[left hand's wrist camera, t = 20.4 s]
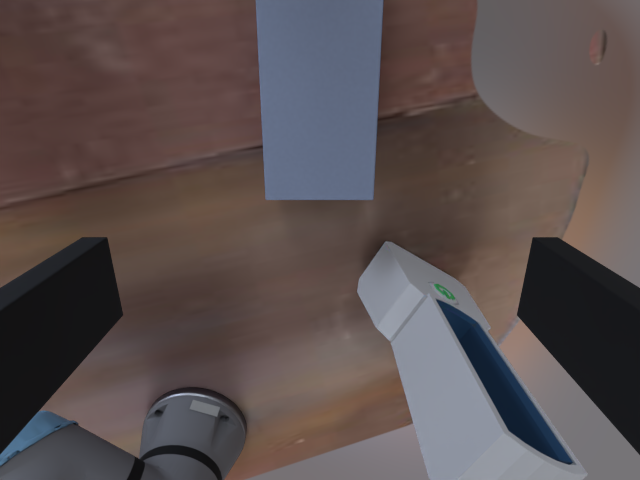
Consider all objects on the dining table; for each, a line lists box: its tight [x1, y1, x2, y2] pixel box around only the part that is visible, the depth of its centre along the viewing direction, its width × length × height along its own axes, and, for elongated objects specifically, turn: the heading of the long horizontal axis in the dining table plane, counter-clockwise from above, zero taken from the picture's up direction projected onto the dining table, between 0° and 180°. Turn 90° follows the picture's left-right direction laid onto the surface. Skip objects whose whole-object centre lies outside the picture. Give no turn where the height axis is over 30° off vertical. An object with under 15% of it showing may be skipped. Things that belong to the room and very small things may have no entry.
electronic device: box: [357, 241, 588, 480], centre depth 38 cm, size 12×8×30 cm, turn 59°
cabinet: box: [256, 0, 383, 200], centre depth 39 cm, size 22×11×9 cm, turn 0°
